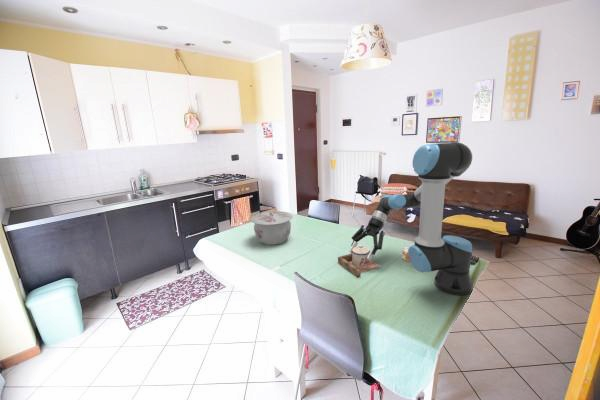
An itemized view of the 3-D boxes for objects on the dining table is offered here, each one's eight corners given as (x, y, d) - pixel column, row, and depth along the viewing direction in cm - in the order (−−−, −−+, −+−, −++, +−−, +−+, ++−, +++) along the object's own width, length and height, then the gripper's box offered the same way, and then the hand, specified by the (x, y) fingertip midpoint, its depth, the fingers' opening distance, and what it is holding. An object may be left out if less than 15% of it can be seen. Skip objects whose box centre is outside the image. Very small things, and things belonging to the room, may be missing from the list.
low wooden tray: (384, 269, 145) (384, 263, 144) (357, 277, 138) (357, 271, 137) (362, 255, 160) (362, 250, 160) (338, 262, 154) (337, 256, 153)
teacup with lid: (360, 271, 143) (361, 250, 140) (348, 264, 150) (348, 244, 147) (376, 264, 149) (377, 244, 146) (363, 258, 157) (364, 239, 154)
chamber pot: (279, 252, 169) (276, 220, 164) (244, 245, 183) (241, 215, 178) (301, 236, 193) (300, 207, 188) (269, 230, 206) (267, 204, 201)
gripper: (399, 229, 146) (381, 266, 140) (363, 219, 163) (345, 252, 157) (394, 222, 141) (375, 260, 135) (357, 212, 158) (339, 246, 153)
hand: (359, 255), depth 146 cm, fingers open, 11 cm apart
